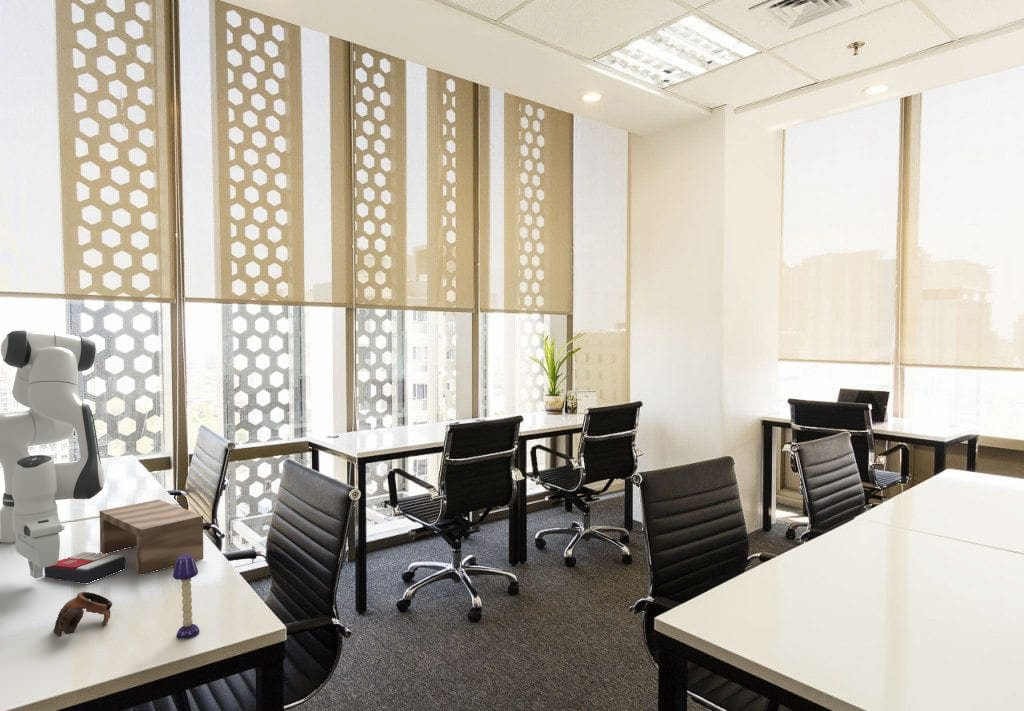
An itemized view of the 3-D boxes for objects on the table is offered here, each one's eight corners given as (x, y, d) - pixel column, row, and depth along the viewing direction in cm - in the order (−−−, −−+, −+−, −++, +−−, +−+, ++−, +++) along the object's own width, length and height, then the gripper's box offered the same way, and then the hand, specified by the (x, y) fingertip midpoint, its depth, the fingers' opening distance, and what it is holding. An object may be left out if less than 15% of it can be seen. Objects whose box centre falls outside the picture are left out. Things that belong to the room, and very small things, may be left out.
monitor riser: (100, 552, 177) (99, 510, 176) (159, 537, 189) (158, 499, 189) (141, 575, 160) (141, 529, 159) (203, 557, 172) (203, 515, 172)
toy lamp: (193, 640, 126) (192, 560, 125) (169, 640, 125) (168, 560, 125) (202, 629, 131) (202, 551, 130) (180, 629, 130) (179, 552, 130)
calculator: (84, 550, 169) (125, 553, 164) (85, 565, 169) (126, 569, 164) (43, 564, 158) (86, 568, 154) (44, 580, 158) (87, 585, 154)
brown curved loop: (61, 623, 134) (83, 586, 136) (102, 640, 135) (124, 603, 137) (32, 634, 122) (58, 594, 125) (78, 653, 124) (102, 612, 126)
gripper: (7, 517, 156) (8, 570, 157) (33, 532, 144) (34, 590, 144) (37, 511, 161) (38, 563, 162) (64, 526, 149) (65, 582, 149)
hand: (36, 576), depth 153 cm, fingers closed
